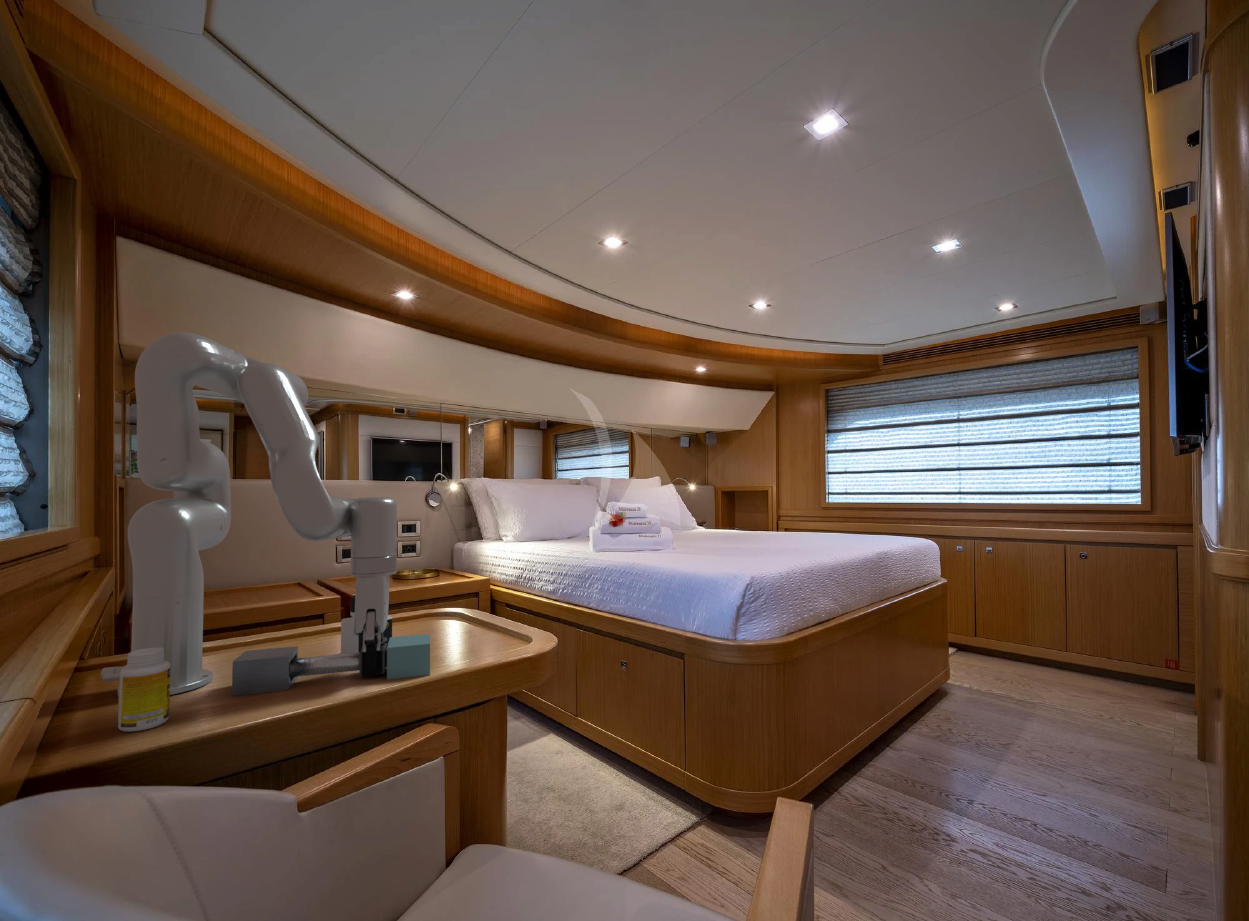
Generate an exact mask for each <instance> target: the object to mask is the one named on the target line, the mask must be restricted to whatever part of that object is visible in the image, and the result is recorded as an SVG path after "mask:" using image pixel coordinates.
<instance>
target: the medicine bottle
mask: <svg viewBox="0 0 1249 921" xmlns="http://www.w3.org/2000/svg"><path fill="white" fill-rule="evenodd" d="M350 616H351V617H347V618H346V617H345V618H342V619H341V621H340V654H348V653H358V652H360V651H361V648H362V647H363V630H362V632H361V633H359V635H357V636H356V635H355V634H354V618H355V594H354V595H352V596H351V597H350ZM390 637H393V617H392V616H389V615H388V618H387V624H386V628H385V630H384V632H383V643H384V645H385V644H386V650H387V647H388V643H389V639H390Z"/></svg>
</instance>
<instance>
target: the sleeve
mask: <svg viewBox="0 0 1249 921" xmlns="http://www.w3.org/2000/svg"><path fill="white" fill-rule="evenodd" d="M295 658H299V646H285V647H276V648H274V647H273V648H263V649H254V650H245V651H244V652H242V653H241V654H240V655H239V656H238V657H236V658H235V659H234V660H233V661H232V670H231V671H232V675H231V676H232V677H231V678H232V679H231V682H232V683H231V684H232V685H231V697H235V696H247V695H255V694H256V695H257V694H263V693H272V692H280V691H281V692H282V691H289V690H290V689H291V687H292V686H293V685H294V683H295V682H296V681H297V679H298V678H299V677H290V661H291V660H292V659H295Z"/></svg>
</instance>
